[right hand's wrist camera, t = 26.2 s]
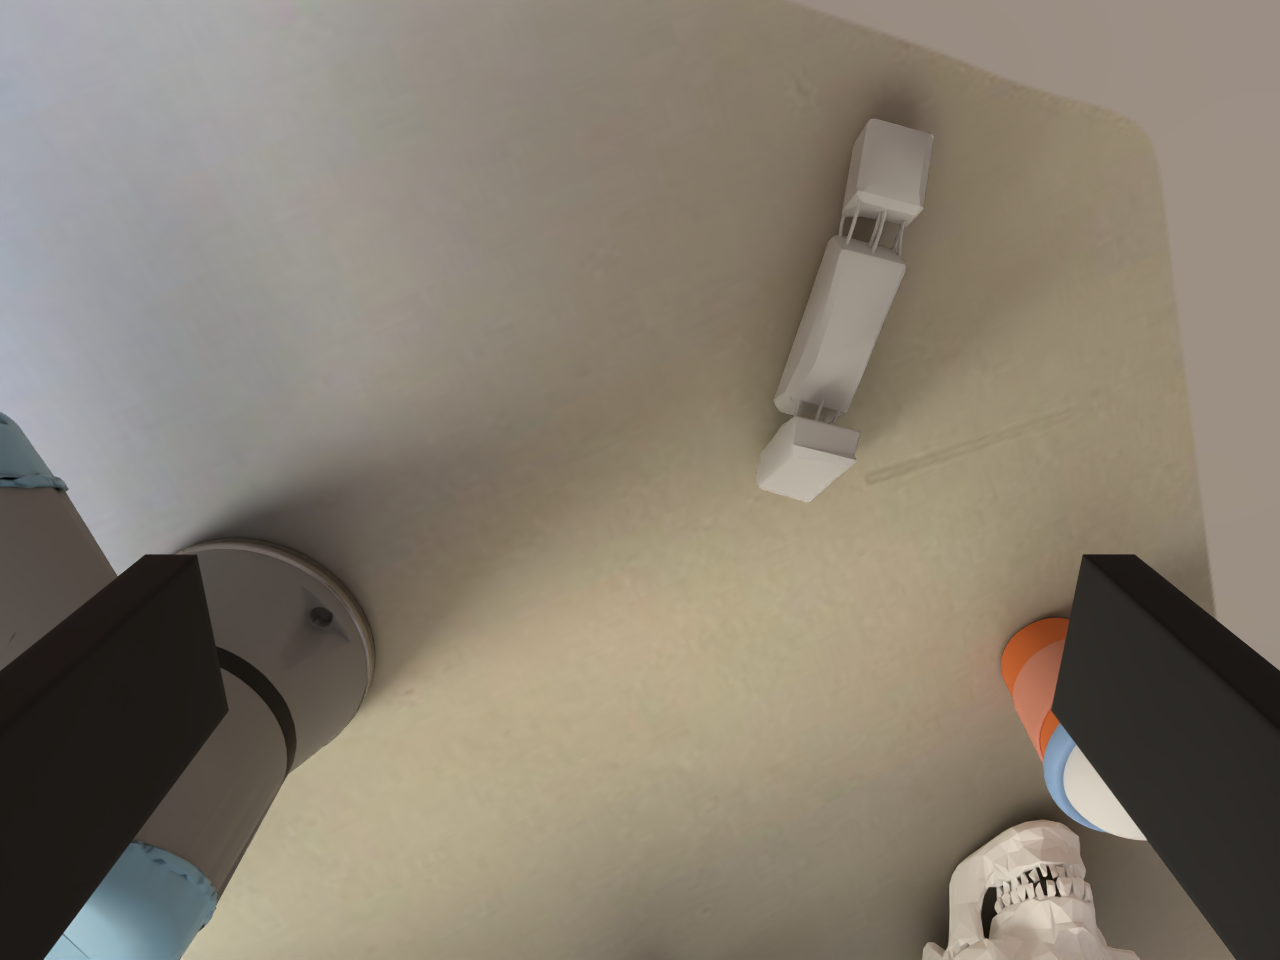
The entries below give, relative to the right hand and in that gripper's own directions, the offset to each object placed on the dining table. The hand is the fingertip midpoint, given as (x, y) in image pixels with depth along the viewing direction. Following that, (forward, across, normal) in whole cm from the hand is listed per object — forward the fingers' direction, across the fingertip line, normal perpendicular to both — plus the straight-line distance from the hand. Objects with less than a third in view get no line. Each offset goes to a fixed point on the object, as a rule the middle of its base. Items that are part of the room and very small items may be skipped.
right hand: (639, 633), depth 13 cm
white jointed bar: (+36, -11, +2) cm, 38 cm away
